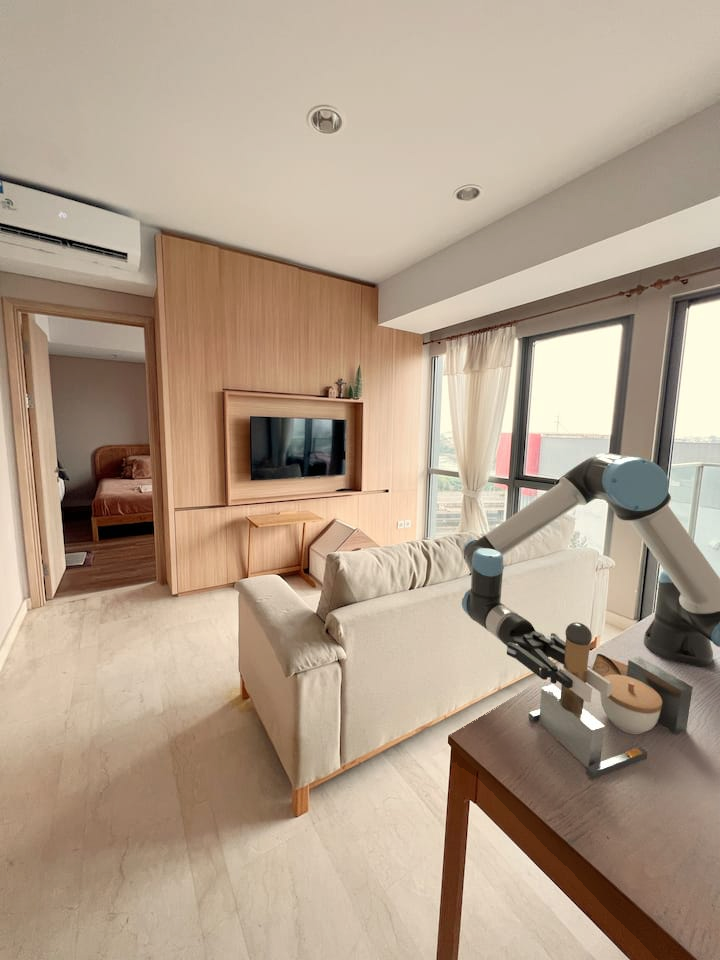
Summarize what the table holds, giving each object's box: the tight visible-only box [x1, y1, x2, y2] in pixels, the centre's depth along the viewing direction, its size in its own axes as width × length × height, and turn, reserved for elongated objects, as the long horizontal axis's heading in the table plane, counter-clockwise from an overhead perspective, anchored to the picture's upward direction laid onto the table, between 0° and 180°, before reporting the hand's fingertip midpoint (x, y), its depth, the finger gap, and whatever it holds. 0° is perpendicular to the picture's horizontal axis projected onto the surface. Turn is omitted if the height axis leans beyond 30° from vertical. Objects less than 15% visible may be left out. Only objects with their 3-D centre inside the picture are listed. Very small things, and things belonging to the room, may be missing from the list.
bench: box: [528, 656, 694, 781], centre depth 81 cm, size 29×15×10 cm, turn 109°
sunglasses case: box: [591, 653, 628, 677], centre depth 96 cm, size 18×7×7 cm, turn 44°
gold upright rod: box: [538, 621, 605, 768], centre depth 76 cm, size 4×12×25 cm, turn 19°
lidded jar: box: [599, 675, 662, 735], centre depth 83 cm, size 11×11×9 cm
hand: (599, 692), depth 71 cm, fingers closed on gold upright rod, 4 cm apart
